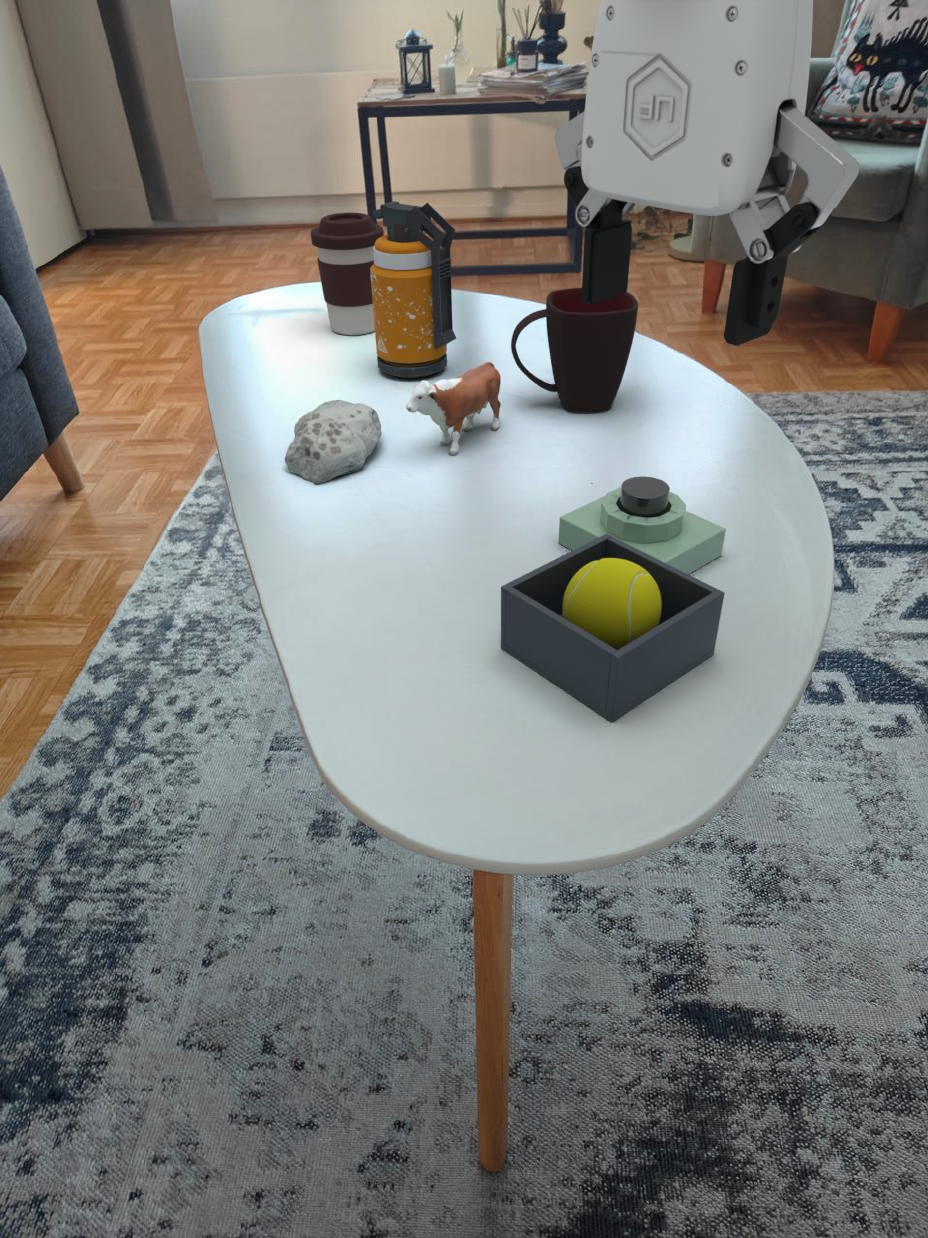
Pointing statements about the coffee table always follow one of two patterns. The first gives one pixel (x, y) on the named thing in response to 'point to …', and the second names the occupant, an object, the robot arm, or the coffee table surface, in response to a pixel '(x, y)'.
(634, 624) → the tennis ball
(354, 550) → the coffee table surface
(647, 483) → the button top
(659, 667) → the bin
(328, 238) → the coffee cup
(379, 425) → the decorative stone
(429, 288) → the canister
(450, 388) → the bull figurine
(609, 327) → the mug
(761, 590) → the coffee table surface
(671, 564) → the push button base
